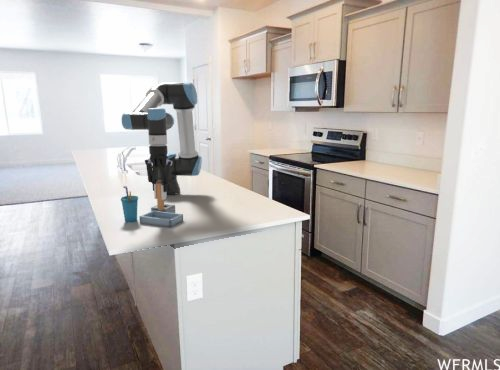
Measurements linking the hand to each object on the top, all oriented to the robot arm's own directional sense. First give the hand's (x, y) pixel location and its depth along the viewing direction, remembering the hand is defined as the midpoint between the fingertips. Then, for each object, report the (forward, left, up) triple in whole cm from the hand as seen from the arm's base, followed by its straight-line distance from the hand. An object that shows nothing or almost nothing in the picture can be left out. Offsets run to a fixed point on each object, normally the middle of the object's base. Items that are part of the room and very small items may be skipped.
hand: (160, 198), depth 159 cm
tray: (0, 0, -11) cm, 11 cm away
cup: (-15, -3, -11) cm, 19 cm away
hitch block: (-6, +10, -11) cm, 16 cm away
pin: (0, 0, -5) cm, 5 cm away
